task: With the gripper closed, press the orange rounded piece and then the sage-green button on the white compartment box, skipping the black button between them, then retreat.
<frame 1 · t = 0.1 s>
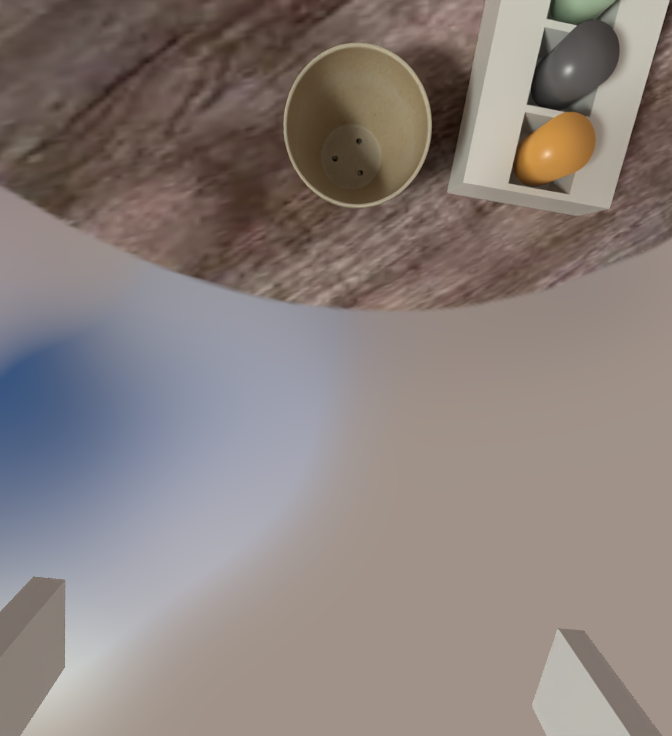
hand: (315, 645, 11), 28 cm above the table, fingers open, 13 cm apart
black button: (572, 69, 29), point 4 cm above the table, slide at 0.0 cm
white compartment box: (538, 96, 33), on the table
flower pot: (350, 159, 34), on the table
orange rounded piece: (551, 152, 30), point 5 cm above the table, slide at 0.0 cm
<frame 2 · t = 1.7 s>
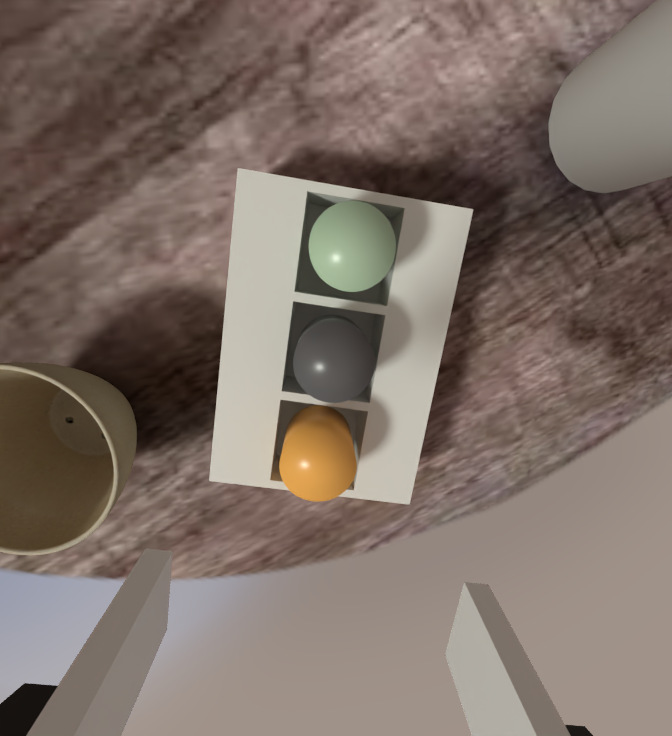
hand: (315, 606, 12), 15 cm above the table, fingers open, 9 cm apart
black button: (332, 355, 21), point 5 cm above the table, slide at 0.0 cm
green button: (349, 250, 20), point 4 cm above the table, slide at 0.0 cm
white compartment box: (330, 342, 26), on the table
can: (600, 129, 24), on the table
flower pot: (95, 414, 26), on the table
orange rounded piece: (318, 450, 23), point 5 cm above the table, slide at 0.0 cm
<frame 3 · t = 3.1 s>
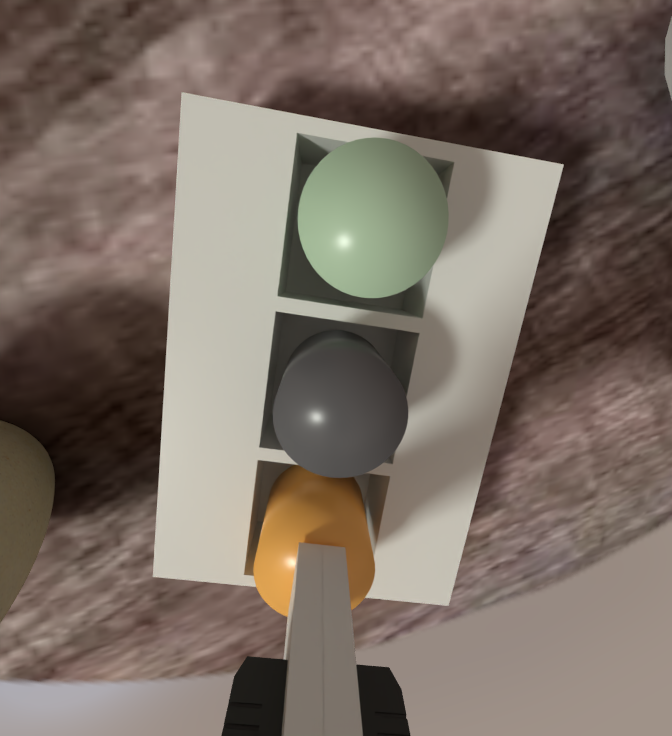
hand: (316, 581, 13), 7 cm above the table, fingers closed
black button: (337, 395, 14), point 5 cm above the table, slide at 0.0 cm
green button: (365, 229, 12), point 4 cm above the table, slide at 0.0 cm
white compartment box: (333, 366, 18), on the table
flower pot: (2, 466, 19), on the table
orange rounded piece: (315, 532, 15), point 4 cm above the table, slide at 0.1 cm, touching gripper
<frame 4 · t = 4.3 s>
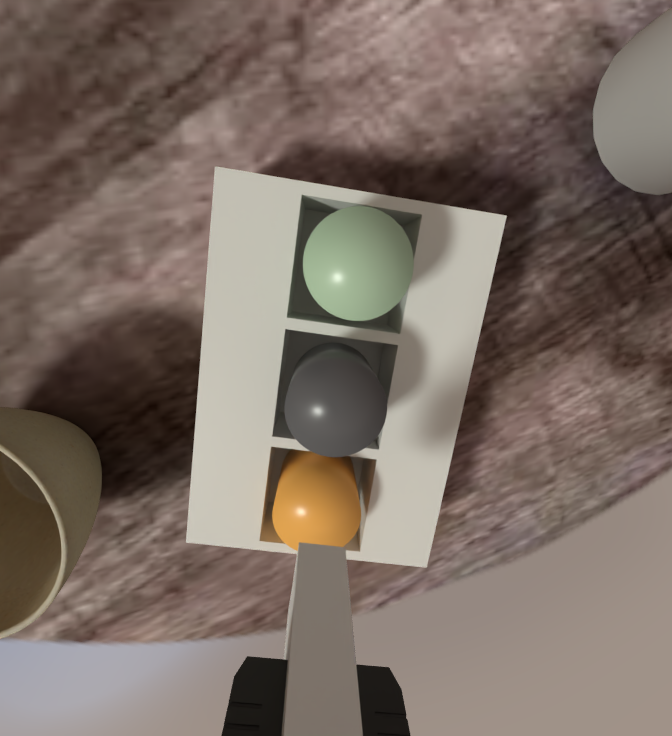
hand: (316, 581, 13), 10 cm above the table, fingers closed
black button: (334, 394, 17), point 4 cm above the table, slide at 0.0 cm
green button: (354, 266, 16), point 5 cm above the table, slide at 0.0 cm
white compartment box: (331, 371, 22), on the table
can: (651, 119, 20), on the table
flower pot: (56, 456, 23), on the table
orange rounded piece: (317, 492, 20), point 3 cm above the table, slide at 1.3 cm
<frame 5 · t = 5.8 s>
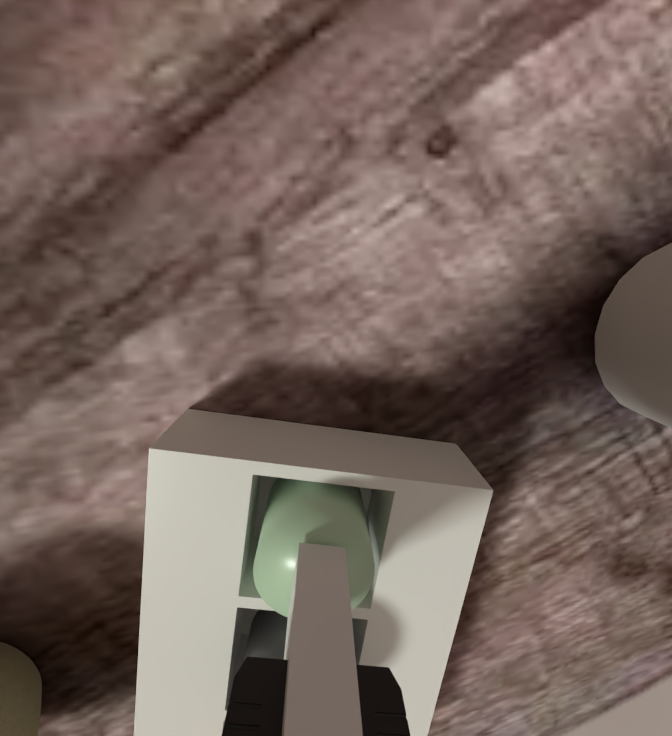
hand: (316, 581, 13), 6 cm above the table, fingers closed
black button: (294, 678, 15), point 5 cm above the table, slide at 0.0 cm
green button: (314, 533, 15), point 3 cm above the table, slide at 1.2 cm, touching gripper
white compartment box: (299, 587, 20), on the table
can: (661, 328, 17), on the table
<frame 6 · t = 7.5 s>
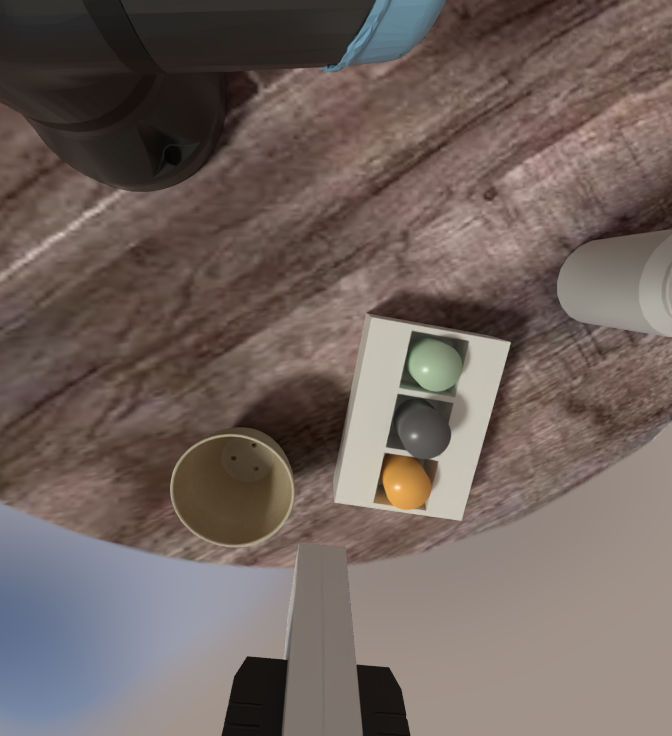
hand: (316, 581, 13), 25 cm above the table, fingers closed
black button: (420, 427, 34), point 4 cm above the table, slide at 0.0 cm
green button: (431, 362, 34), point 3 cm above the table, slide at 1.3 cm
white compartment box: (409, 410, 39), on the table
can: (589, 282, 37), on the table
flower pot: (248, 454, 39), on the table
orange rounded piece: (404, 478, 37), point 3 cm above the table, slide at 1.3 cm
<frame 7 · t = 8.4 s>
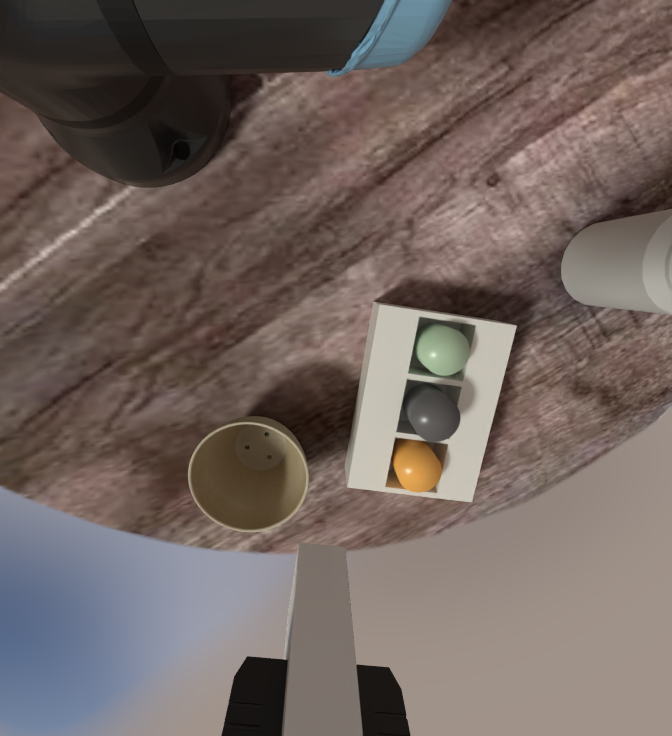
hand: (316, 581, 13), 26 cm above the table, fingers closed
black button: (430, 411, 35), point 4 cm above the table, slide at 0.0 cm
green button: (439, 348, 35), point 3 cm above the table, slide at 1.3 cm
white compartment box: (417, 396, 39), on the table
can: (593, 265, 37), on the table
flower pot: (261, 443, 40), on the table
orange rounded piece: (414, 462, 37), point 3 cm above the table, slide at 1.3 cm
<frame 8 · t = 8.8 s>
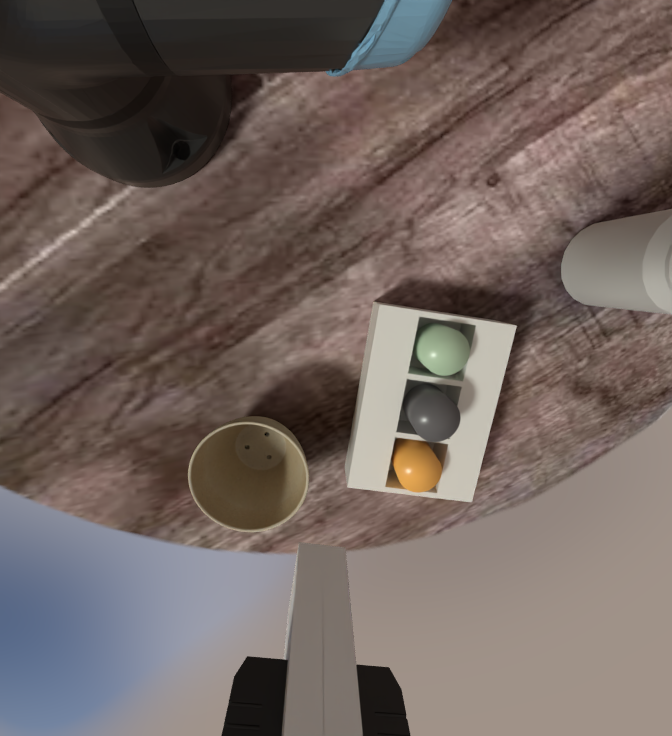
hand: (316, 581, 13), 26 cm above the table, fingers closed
black button: (430, 411, 35), point 4 cm above the table, slide at 0.0 cm
green button: (439, 348, 35), point 3 cm above the table, slide at 1.3 cm
white compartment box: (417, 396, 39), on the table
can: (593, 265, 37), on the table
flower pot: (261, 443, 40), on the table
orange rounded piece: (414, 461, 37), point 3 cm above the table, slide at 1.3 cm
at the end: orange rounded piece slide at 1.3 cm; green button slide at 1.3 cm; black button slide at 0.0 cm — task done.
